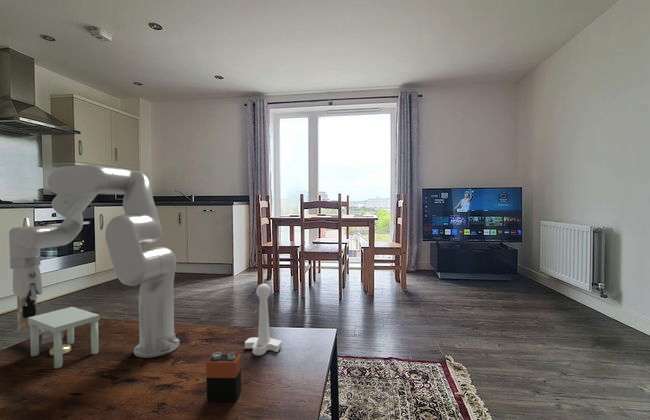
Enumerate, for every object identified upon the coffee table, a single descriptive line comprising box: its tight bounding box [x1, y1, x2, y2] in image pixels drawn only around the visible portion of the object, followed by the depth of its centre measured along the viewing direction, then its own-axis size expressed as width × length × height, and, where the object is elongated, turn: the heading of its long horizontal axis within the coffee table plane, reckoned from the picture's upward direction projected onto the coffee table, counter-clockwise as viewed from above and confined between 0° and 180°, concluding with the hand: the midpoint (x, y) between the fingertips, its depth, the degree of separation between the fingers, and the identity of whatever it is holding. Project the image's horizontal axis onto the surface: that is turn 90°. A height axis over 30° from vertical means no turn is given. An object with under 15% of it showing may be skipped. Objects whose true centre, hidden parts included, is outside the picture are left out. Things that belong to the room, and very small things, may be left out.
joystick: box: [244, 283, 283, 356], centre depth 94 cm, size 11×8×20 cm
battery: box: [205, 351, 242, 403], centre depth 71 cm, size 4×7×10 cm, turn 88°
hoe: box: [16, 290, 65, 345], centre depth 102 cm, size 21×5×14 cm, turn 62°
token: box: [49, 343, 72, 357], centre depth 95 cm, size 5×5×2 cm
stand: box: [28, 306, 101, 369], centre depth 93 cm, size 17×11×12 cm, turn 62°
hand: (27, 315), depth 106 cm, fingers closed on hoe, 3 cm apart
